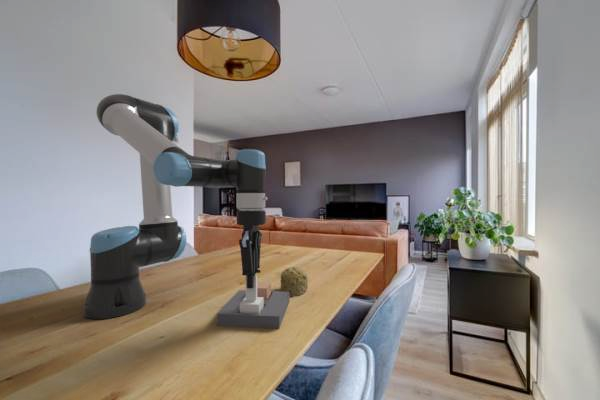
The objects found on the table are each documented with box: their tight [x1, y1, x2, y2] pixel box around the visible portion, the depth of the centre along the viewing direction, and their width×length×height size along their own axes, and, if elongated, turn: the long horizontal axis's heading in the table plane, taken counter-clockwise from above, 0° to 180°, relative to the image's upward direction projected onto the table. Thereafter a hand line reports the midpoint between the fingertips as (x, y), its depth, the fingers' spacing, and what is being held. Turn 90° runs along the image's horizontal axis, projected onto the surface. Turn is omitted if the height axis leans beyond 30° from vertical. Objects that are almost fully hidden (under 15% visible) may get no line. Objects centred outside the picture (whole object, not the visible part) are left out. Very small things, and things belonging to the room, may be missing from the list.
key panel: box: [216, 289, 290, 329], centre depth 75 cm, size 16×17×3 cm
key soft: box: [240, 297, 264, 314], centre depth 70 cm, size 5×5×4 cm
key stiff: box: [257, 281, 272, 300], centre depth 79 cm, size 5×5×4 cm
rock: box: [280, 266, 309, 297], centre depth 92 cm, size 10×11×10 cm
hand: (251, 298), depth 70 cm, fingers closed
